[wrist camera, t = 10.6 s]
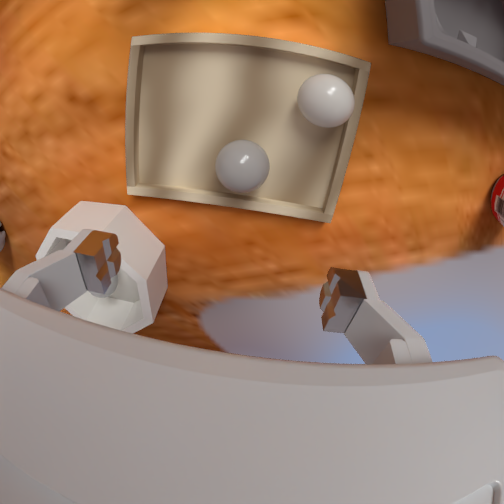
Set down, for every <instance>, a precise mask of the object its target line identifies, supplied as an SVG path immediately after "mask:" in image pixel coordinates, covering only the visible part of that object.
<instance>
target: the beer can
mask: <svg viewBox="0 0 504 504" xmlns="http://www.w3.org/2000/svg"><path fill="white" fill-rule="evenodd" d="M491 209H492V212H493V215H494V216H495V218H496V219H497V220H498V221H499V222H500V223H501V224H502V225H503V226H504V175H502V176H501V177H500V178H499V179H498V180H497V181H496V183H495V185H494V187H493V190H492V194H491Z"/></svg>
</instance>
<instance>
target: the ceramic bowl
mask: <svg viewBox="0 0 504 504" xmlns="http://www.w3.org/2000/svg"><path fill="white" fill-rule="evenodd" d="M82 229H92V230H97V231H103V232H108V233H114V234H116V235H117V236H118V241H119V244H118V245H117V247H116V248H117V249H118V250H119V252H120V253H121V266H120V270H119V272H118V273H117V276H118V285H117V288H116V290H115V291H114V292H113V293H112V294H111V295H110V296H108V297H105V298H99V297H95V296H93V295H92V294H91V293H90V292H89V291H87V292H86V293H84V294H83V295H81V296H80V297H78V298H77V299H76V300H74V301H73V302H71V303H70V304H69V305H67V306H66V307H65V309H66V310H67V311H69V312H70V313H71V314H72V315H73V316H74V317H77V318H80V319H83V320H87V321H90V322H93V323H96V324H100V325H103V326H107V327H110V328H114V329H117V330H121V331H125V332H129V333H132V334H133V333H135V332H137V331H139V330H141V329H143V328H144V327H146V326H148V325H150V324H152V323H153V322H154V320H155V317H156V315H157V312H158V310H159V307H160V305H161V302H162V300H163V297H164V295H165V292H166V290H167V288H168V284H167V271H166V256H165V245H164V244H163V243H162V242H161V241H160V240H159V239H158V238H157V237H156V236H155V235H154V234H153V233H152V232H151V231H150V230H149V229H148V228H147V227H146V226H145V225H144V224H143V223H142V222H141V221H140V220H139V219H138V218H137V217H136V216H135V215H134V214H133V213H132V212H131V211H130V209H129V208H128V207H127V206H125V205H116V204H107V203H97V202H88V201H80V202H79V203H78V204H77V205H75V206H74V207H73V208H72V209H71V210H70V211H69V212H67V213H66V214H65V215H64V216H63V217H62V218H61V219H60V220H59V221H58V222H56V223H55V224H54V225H53V226H52V227H51V229H50V230H49V232H48V234H47V236H46V237H45V239H44V241H43V243H42V245H41V247H40V248H39V250H38V252H37V254H36V259H37V260H39V259H41V258H43V257H45V256H47V255H50V254H52V253H54V252H56V251H58V250H63V249H64V248H65V247H66V246H67V245H68V244H69V243H70V242H71V241H72V240H73V239H74V238H75V237H76V236H77V235H78V233H79V232H80V231H81V230H82Z"/></svg>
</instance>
